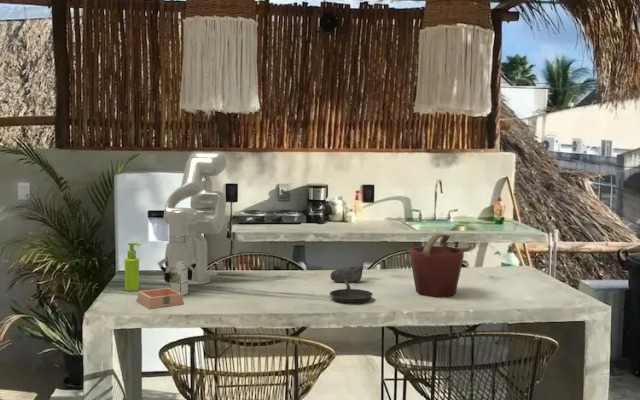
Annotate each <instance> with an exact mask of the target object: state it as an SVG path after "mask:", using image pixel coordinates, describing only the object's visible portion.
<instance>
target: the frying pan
mask: <svg viewBox="0 0 640 400" xmlns="http://www.w3.org/2000/svg"><path fill="white" fill-rule="evenodd" d="M343 280H344V282H345V283H344V284H345V286H346V288H344V289H343V288H341V289H335V290H331V291H330V292H329V296H330V297H331V298H332V299H333V301H335V302H336V303H341V304H351V305H356V304H358V305H359V304H364V303H368V302H369V300H370V299H371V298H372V297H373V294H374V293H373V292H371V291H369V290H366V289H365V290H364V289H359V288H357V289H356V288H351V285H350V283H348V281H347V280H346V279H343Z"/></svg>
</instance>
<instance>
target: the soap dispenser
mask: <svg viewBox="0 0 640 400" xmlns="http://www.w3.org/2000/svg"><path fill="white" fill-rule="evenodd" d="M141 245H142V244H141V243H139V242H128V243H127V246H129V250H127V258H124V290H125V291H127V292H135V291H136V292H137V291H140V258H137V251H136V250H135V249H134V248H135V247H134V246H141Z"/></svg>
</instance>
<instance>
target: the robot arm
mask: <svg viewBox="0 0 640 400" xmlns="http://www.w3.org/2000/svg"><path fill="white" fill-rule="evenodd" d="M227 161H228V160H227V157H226V154H224V153H223V152H212V151H211V152H208V151H207V152H205V151H202V152H201V151H199V152H192V153H191V154H190V155H189V157H188V159H187V161H186V163H185V168H184V171H183V175H182V181H181V184H180V186H178V187H177V188H176V189H175V190H174V191H173V192H172V193H171V194H170V195H169V196H168V198H167V200H166V203H165V207H164V211H163V221H164V222H165V224H167V225H168V242H167V243H166V247H165V255H164V258H162V259H161V260H160V261H158V262H157V265H158V267H159V269H160V270H161V271H162V272H163V276H164V277H163V278H164V279H163V280H164V281H165V283H167V284H168V283H169V284H170V273H169V270H170V269H171V268H175V267H176V263H177V262H178V261H183V260H184V264H185V267H188V285H193V286H195V285H196V286H197V285H205V284H209V283H210V282H211V281H212V280H211V278H213V277H218V272H217V271H214V272H213V271H208V242H207V239H206V238H205V236H204V234H206V235H209V234H210V235H217V234H220V233H221V232H222V230H223V227H224V221H225V213H226V205H227V198H226V195H225V193H224V192H222V191H221V190H213V189H212V188H213V181H212V179H211V177H216V176H218V175H220V174H221V173H222V172H224V170H225V169H226V167H227ZM189 198H190V203H189V205H190V207H176V206H177V205H178V204H179V203H181V202H182V201H184V200H186V199H189ZM164 266H165V267H164Z"/></svg>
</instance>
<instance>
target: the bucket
mask: <svg viewBox="0 0 640 400" xmlns="http://www.w3.org/2000/svg"><path fill="white" fill-rule="evenodd" d="M450 237H451V235H448V234H443V233H441V234H440V233H439V234H434V235H432V236H431V237H430V238H429V240H428V241H427V243H425V244H424V245H422V246H416V247H410V248H409V257H410V263H411V268H412V275H413V281H414V287H415V291H416V293H417V294H418V295H419V296H423V297H428V298H429V297H430V298H451V297H454V296H455V295H456V293H457V289H458V288H457V287H458V283H459V280H460V275H461V270H462V265H463V260H464V257H465V255H464V254H465V253H464V250H465V249H462V248H457V247H456V248H455V247H451V246H449V245H448V241H449V239H450ZM439 238H441V239H440V241H439V245H438V246H437V245H435V244H436V242H437V241H438V240H439Z"/></svg>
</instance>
